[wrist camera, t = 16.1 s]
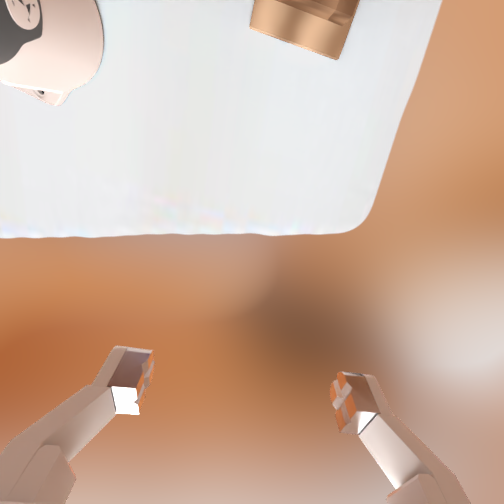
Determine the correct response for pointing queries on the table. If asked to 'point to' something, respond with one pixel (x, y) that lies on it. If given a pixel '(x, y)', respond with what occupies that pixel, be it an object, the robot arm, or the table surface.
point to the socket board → (306, 23)
